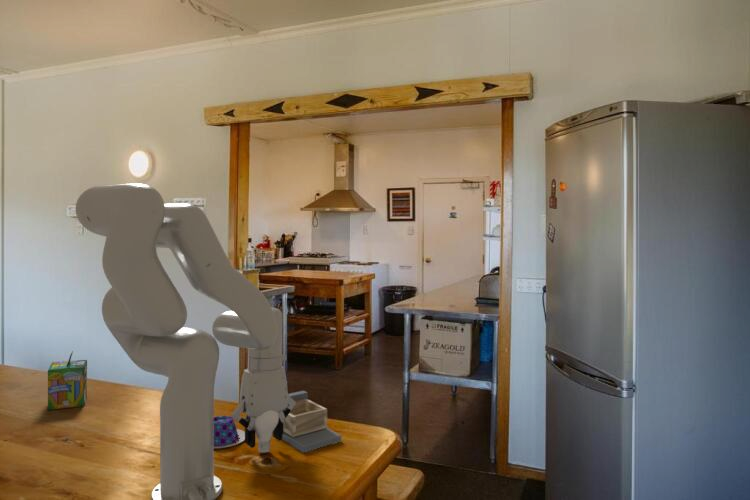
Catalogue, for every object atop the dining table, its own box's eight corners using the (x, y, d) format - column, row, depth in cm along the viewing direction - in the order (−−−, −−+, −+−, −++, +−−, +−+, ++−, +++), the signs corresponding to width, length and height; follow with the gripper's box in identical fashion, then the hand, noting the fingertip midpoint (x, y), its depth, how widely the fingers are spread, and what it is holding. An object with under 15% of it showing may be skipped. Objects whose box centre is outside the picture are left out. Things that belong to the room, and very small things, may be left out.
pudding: (189, 437, 125) (189, 415, 124) (238, 427, 131) (238, 407, 131) (201, 455, 114) (201, 432, 114) (253, 444, 121) (253, 422, 120)
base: (341, 441, 122) (341, 408, 122) (303, 453, 115) (303, 418, 115) (303, 420, 136) (303, 390, 135) (267, 429, 129) (267, 398, 129)
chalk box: (51, 401, 149) (51, 350, 149) (87, 397, 153) (87, 348, 152) (46, 411, 141) (46, 357, 140) (84, 406, 144) (84, 354, 144)
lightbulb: (271, 460, 112) (272, 410, 111) (244, 457, 113) (245, 407, 113) (282, 448, 118) (283, 401, 118) (257, 445, 119) (257, 399, 119)
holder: (327, 427, 126) (327, 408, 126) (292, 437, 120) (292, 417, 120) (306, 416, 134) (306, 398, 134) (272, 424, 128) (273, 405, 128)
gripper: (290, 354, 123) (289, 428, 124) (221, 365, 112) (220, 446, 113) (306, 360, 117) (305, 438, 118) (235, 372, 107) (234, 457, 107)
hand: (264, 441), depth 115 cm, fingers closed on lightbulb, 6 cm apart
